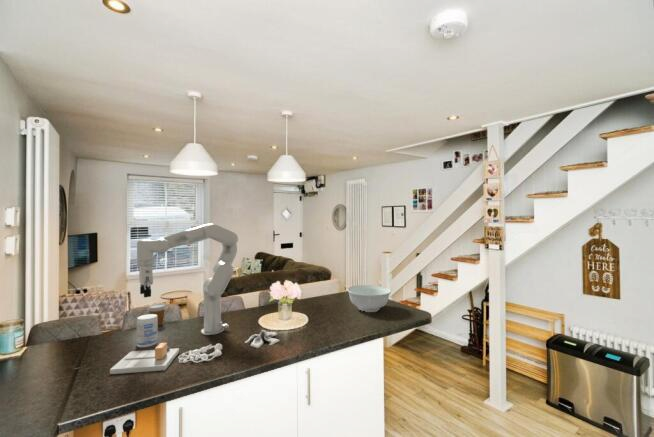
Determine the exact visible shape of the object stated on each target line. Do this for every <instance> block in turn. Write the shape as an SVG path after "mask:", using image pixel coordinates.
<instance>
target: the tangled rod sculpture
mask: <svg viewBox="0 0 654 437" xmlns="http://www.w3.org/2000/svg"><path fill="white" fill-rule="evenodd" d="M212 348H213V349H214V351H213V352H211V353H210V354H207V352H208V350H211V349H212ZM222 350H223V344H221V343H219V342H218V343H216V344H215V345H212V343H210V344H209V345H206V346H202V347H200V348H199V349H197V348H196V349H194V350H188V351H186V352H183V353H182V352H181V353H182V354H180V355H179V356H178V357H177V358H178V362H179V363H183V364H186V363H187V362H190V361H191V362H193V363H195V364H198V363H201V362H204V361H205V362H208V361H212V360H213V359H214V358H218V357H220V356H221V355H222V354H223V353H222ZM187 354H188V355H187ZM209 357H211V358H209ZM199 359H200V360H199Z"/></svg>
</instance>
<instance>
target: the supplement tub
mask: <svg viewBox="0 0 654 437" xmlns="http://www.w3.org/2000/svg"><path fill="white" fill-rule="evenodd" d="M158 327H159V326H158V318H157V315H156V314H149V313H148V314H142V315H140V316H137V318H136V346H137V347H138V348H148V347H152V346H154V345H156V344H157V343H158V330H159V328H158Z"/></svg>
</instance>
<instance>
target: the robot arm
mask: <svg viewBox="0 0 654 437" xmlns="http://www.w3.org/2000/svg"><path fill="white" fill-rule="evenodd" d="M208 239H210V240H211V239H212V240H213V241H216V242H218V243H221V245H222V250H221V252H220V254H219V257H218V258H217V261H216V262H215V264H214V266H213V268H212V270H213V273H214V275H213V276H212V277H208V278H206V280H205V281H204V282H203V286H202V291H203V328H202V329H200V334H202V335H205V336H212V335H218V334H220V333H222V332H224V330H225V329H229V324H228V323H223V321H222V295H223V294H224V293H225V290H226V288H227V286H228V284H229V283H230V281H231V279H232V277H233V274H234V267H233V265H232V264H233V263H234V261H235V259H236V256H237V254H238V253H237V252H238V245H237V243H239V242H238V241H239V237H238V234H236V232H233V231H231V230H229V229H227V228H225V227H222V226H221V225H218V224H217V223H205V224H202V225H199V226H195V227H192V228H189V229H185V230H182V231H179V232H176V233H173V234H170V235H167V236H166V235H165V236H162V237H159V238H157V239H153V240H152V239H139V240H137V243H136V266H137V267H139V268H138V269H139V271H138V274H139V276H138V277H139V278H138V279H139V284H140V285H139V286H140V287H139V288H140V290H139V294H140V295H143V298H151V297H152V285H154V274H153V273H154V272H153V266H154V254H156V253H157V254H158V253H159V254H165V253H166V252H168V251H169V250H170V249H174V248H177V247H181V246H189V245H193V244H196V243H199V242H203V241H206V240H208Z"/></svg>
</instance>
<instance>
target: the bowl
mask: <svg viewBox="0 0 654 437" xmlns="http://www.w3.org/2000/svg"><path fill="white" fill-rule="evenodd" d="M346 291H347V292H348V295H349V299H350V302H351V303H352V304H353V305H354V306H355V307H357V309H358V310H359V311H360V310H361V312H363V311H365V312H364V313H376V312H378V310H379V311H380V309H381V308H383V307H384V306H385V305H387V303H388V301H389V297H390V295H391V293H392V290H391V289H390V288H388V287H386V286H380V285H372V284H371V285H370V284H367V285H365V284H360V285H352V286H349V287H347V289H346Z"/></svg>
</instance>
